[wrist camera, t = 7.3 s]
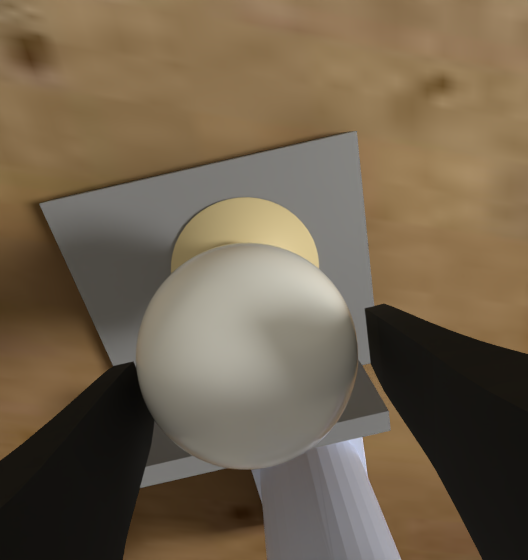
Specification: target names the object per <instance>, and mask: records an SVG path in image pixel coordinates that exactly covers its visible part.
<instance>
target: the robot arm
mask: <svg viewBox="0 0 528 560" xmlns="http://www.w3.org/2000/svg"><path fill="white" fill-rule="evenodd" d="M364 309H365V317H366V326H367V335H368V344H369V353H370V362H371V365H372V367H373V369H374V371H375V374H376V376H377V378H378V380H379V382H380V384H381V386H382V388H383V390H384V392H385V393H386V395H387V396H388V398H389V399H390V401H391V402H392V404H393V405H394V407H395V408H396V410H397V411H398V413H399V414H400V416H401V417H402V419H403V420H404V422H405V423H406V425H407V426H408V428H409V429H410V431H411V432H412V434H413V435H414V437H415V438H416V440H417V441H418V443H419V444H420V446H421V447H422V449H423V450H424V452H425V453H426V455H427V457H428V458H429V460H430V461H431V463H432V465H433V466H434V468H435V470H436V471H437V473H438V475H439V477H440V479H441V481H442V482H443V484H444V486H445V488H446V490H447V492H448V494H449V495H450V497H451V499H452V501H453V503H454V505H455V507H456V509H457V510H458V512H459V514H460V516H461V518H462V520H463V522H464V524H465V526H466V528H467V530H468V532H469V534H470V536H471V538H472V540H473V541H474V543H475V545H476V547H477V549H478V551H479V553H480V555H481V557H482V559H483V560H528V354H525V353H521V352H518V351H514V350H510V349H507V348H503V347H499V346H496V345H492V344H489V343H486V342H482V341H479V340H476V339H473V338H471V337H468V336H465V335H462V334H459V333H456V332H453V331H451V330H448V329H445V328H443V327H440V326H438V325H435V324H433V323H430V322H428V321H425V320H423V319H421V318H418V317H416V316H414V315H411V314H409V313H406V312H404V311H402V310H399V309H397V308H394V307H392V306H389V305H386V304H381V305H377V306H372V307H368V308H364ZM154 421H155V420H154V419H153V417H152V416H151V414H150V412H149V410H148V408H147V406H146V404H145V401H144V399H143V396H142V393H141V390H140V386H139V382H138V377H137V370H136V366H135V364H134V361H133V362H128V363H124V364H119V365H115V366H113V367H112V368H110V369H109V370H108V371H106V372H105V373H104V374H103V375H101V376H100V377H99V378H98V379H97V380H96V381H94V382H93V383H92V384H91V385H90V386H89V387H88V388H87V389H85V390H84V391H83V392H82V393H81V394H80V395H79V396H78V397H76V398H75V399H74V400H73V401H72V402H71V403H70V404H69V405H68V406H66V407H65V408H64V409H63V410H62V411H61V412H60V413H58V414H57V415H56V416H55V417H54V418H53V419H51V420H50V421H49V422H48V423H47V424H45V425H44V426H43V427H42V428H41V429H39V430H38V431H37V432H36V433H35V434H34V435H32V436H31V437H30V438H29V439H28V440H26V441H25V442H24V443H23V444H21V445H20V446H19V447H18V448H16V449H15V450H14V451H12V452H11V453H10V454H9V455H7V456H6V457H5V458H3V459H2V460H1V461H0V560H123V554H124V549H125V543H126V539H127V534H128V530H129V526H130V522H131V518H132V514H133V511H134V507H135V504H136V500H137V496H138V493H139V489H140V485H141V482H142V478H143V475H144V471H145V467H146V463H147V460H148V456H149V452H150V448H151V444H152V437H153V430H154ZM252 474H253V477H254V480H255V483H256V486H257V489H258V493H259V496H260V499H261V502H262V505H263V517H264V529H265V541H266V553H267V560H401V558H400V555H399V553H398V550H397V548H396V546H395V543H394V541H393V538H392V536H391V533H390V531H389V528H388V526H387V523H386V521H385V518H384V516H383V514H382V511H381V509H380V506H379V504H378V501H377V499H376V496H375V494H374V491H373V489H372V486H371V484H370V481H369V479H368V475H367V468H366V460H365V453H364V446H363V438H362V437H360V438H356V439H351V440H347V441H343V442H338V443H334V444H330V445H325V446H321V447H316V448H312V449H310V450H308V451H307V452H305V453H303V454H302V455H300V456H298V457H296V458H294V459H292V460H290V461H288V462H285V463H282V464H279V465H276V466H272V467H268V468H262V469H253V470H252Z"/></svg>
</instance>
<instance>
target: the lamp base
mask: <svg viewBox="0 0 528 560" xmlns="http://www.w3.org/2000/svg"><path fill="white" fill-rule="evenodd" d="M40 207H41V209H42V211H43V213H44V215H45V218H46V220H47V222H48V224H49V226H50V229H51V231H52V233H53V235H54V237H55V240H56V242H57V244H58V246H59V248H60V250H61V253H62V255H63V257H64V259H65V261H66V264H67V266H68V268H69V270H70V272H71V275H72V277H73V279H74V281H75V283H76V285H77V288H78V290H79V292H80V294H81V296H82V299H83V301H84V303H85V305H86V307H87V310H88V312H89V314H90V316H91V318H92V321H93V323H94V325H95V327H96V329H97V331H98V334H99V336H100V338H101V340H102V342H103V345H104V347H105V349H106V351H107V353H108V356H109V358H110V360H111V362H112V364H113V366H115V365H119V364H124V363H128V362H133V361H134V364H135V366H136V344H137V337H138V332H139V328H140V324H141V321H142V318H143V315H144V313H145V310H146V308H147V306H148V304H149V302H150V300H151V299H152V297H153V295H154V294H155V292H156V291H157V289H158V288H159V287H160V285H161V284H162V283H163V282H164V281H165V279H166V278H167V277H168V276H169V275H170V274H171V273H172V272H173V271H175V270H176V269H177V268H178V267H179V266H181V265H182V264H183V263H185V262H186V261H188V260H189V259H191V258H192V257H194V256H196V255H198V254H200V253H202V252H204V251H207V250H209V249H212V248H215V247H218V246H222V245H227V244H233V243H244V242H252V243H263V244H269V245H274V246H277V247H281V248H284V249H287V250H289V251H292V252H294V253H296V254H298V255H300V256H302V257H303V258H305V259H307V260H308V261H310V262H311V263H312V264H314V265H315V266H316V267H318V268H319V269H320V270H321V271H322V272H323V273H324V274H325V275H326V276H327V277H328V278H329V279H330V280H331V281H332V282H333V284H334V285H335V286H336V288H337V289H338V290H339V292H340V293H341V295H342V297H343V298H344V300H345V302H346V304H347V306H348V308H349V311H350V313H351V316H352V319H353V322H354V326H355V330H356V335H357V342H358V368H357V375H356V380H355V384H354V388H353V391H352V394H351V397H350V399H349V402H348V404H347V406H346V408H345V410H344V412H343V414H342V415H341V417H340V418H339V420H338V421H337V423H336V424H335V426H334V427H333V428H332V429H331V430H330V432H329V433H328V434H327V435H326V436H325V437H324V438H323V439H322V440H321V441H320V442H318V443H317V444H316V445H315V446H314V447H312V448H316V447H321V446H325V445H330V444H334V443H338V442H343V441H347V440H351V439H356V438H360V437H364V436H369V435H373V434H377V433H382V432H386V431H390V420H389V411H388V409H387V407H386V406H385V404H384V402H383V400H382V399H381V397H380V395H379V394H378V392H377V390H376V388H375V387H374V385H373V383H372V382H371V380H370V378H369V376H368V375H367V373H366V371H365V370H364V368H363V366H362V365H365V364H369V363H371V362H370V353H369V344H368V335H367V326H366V317H365V309H364V308H368V307H372V306H374V300H373V290H372V280H371V270H370V260H369V249H368V239H367V229H366V219H365V209H364V199H363V189H362V179H361V169H360V159H359V149H358V139H357V131H352V132H345V133H341V134H337V135H332V136H328V137H324V138H319V139H315V140H310V141H306V142H302V143H297V144H293V145H289V146H284V147H280V148H275V149H271V150H267V151H262V152H258V153H254V154H249V155H245V156H241V157H236V158H232V159H227V160H223V161H219V162H214V163H210V164H206V165H201V166H197V167H192V168H188V169H184V170H179V171H175V172H171V173H166V174H162V175H157V176H153V177H149V178H144V179H140V180H136V181H131V182H127V183H122V184H118V185H114V186H109V187H105V188H101V189H96V190H92V191H87V192H83V193H79V194H74V195H70V196H66V197H61V198H57V199H53V200H49V201H46V202H43V203H40ZM312 448H311V449H312ZM221 469H225V468H224V467H220V466H216V465H213V464H210V463H207V462H204V461H202V460H200V459H198V458H196V457H194V456H192V455H190V454H189V453H187V452H186V451H184V450H183V449H181V448H180V447H179V446H177V445H176V444H175V443H174V442H173V441H172V440H171V439H170V438H169V437H168V436H167V435H166V434H165V433H164V432H163V431H162V430H161V429H160V427H159V426H158V425H157V423H156V422H155V421H154V430H153V437H152V444H151V448H150V452H149V456H148V460H147V463H146V467H145V471H144V475H143V478H142V482H141V485H140V488H143V487H147V486H151V485H156V484H160V483H164V482H169V481H173V480H177V479H182V478H186V477H190V476H195V475H199V474H203V473H208V472H212V471H216V470H221Z"/></svg>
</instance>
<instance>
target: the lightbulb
mask: <svg viewBox="0 0 528 560" xmlns="http://www.w3.org/2000/svg"><path fill="white" fill-rule="evenodd" d="M357 368H358V342H357V335H356V330H355V326H354V322H353V319H352V316H351V313H350V311H349V308H348V306H347V304H346V302H345V300H344V298H343V297H342V295H341V293H340V292H339V290H338V289H337V288H336V286H335V285H334V284H333V282H332V281H331V280H330V279H329V278H328V277H327V276H326V275H325V274H324V273H323V272H322V271H321V270H320V269H319V268H318V267H316V266H315V265H314V264H312V263H311V262H310V261H308V260H307V259H305V258H303V257H302V256H300V255H298V254H296V253H294V252H292V251H289V250H287V249H284V248H281V247H277V246H274V245H269V244H263V243H252V242H244V243H233V244H227V245H222V246H218V247H215V248H212V249H209V250H207V251H204V252H202V253H200V254H198V255H196V256H194V257H192V258H191V259H189V260H188V261H186V262H185V263H183V264H182V265H181V266H179V267H178V268H177V269H176V270H175V271H173V272H172V273H171V274H170V275H169V276H168V277H167V278H166V279H165V281H164V282H163V283H162V284H161V285H160V287H159V288H158V289H157V291H156V292H155V294H154V295H153V297H152V299H151V300H150V302H149V304H148V306H147V308H146V310H145V313H144V315H143V318H142V321H141V324H140V328H139V332H138V337H137V344H136V370H137V377H138V382H139V386H140V390H141V393H142V396H143V399H144V401H145V404H146V406H147V408H148V410H149V412H150V414H151V416H152V417H153V419H154V420H155V422H156V423H157V425H158V426H159V427H160V429H161V430H162V431H163V432H164V433H165V434H166V435H167V436H168V437H169V438H170V439H171V440H172V441H173V442H174V443H175V444H176V445H177V446H179V447H180V448H181V449H183V450H184V451H186V452H187V453H189V454H190V455H192V456H194V457H196V458H198V459H200V460H202V461H204V462H207V463H210V464H213V465H216V466H220V467H224V468H230V469H239V470H253V469H262V468H268V467H272V466H276V465H279V464H282V463H285V462H288V461H290V460H292V459H294V458H296V457H298V456H300V455H302V454H303V453H305V452H307V451H308V450H310V449H311V448H312V447H314V446H315V445H316V444H317V443H318V442H320V441H321V440H322V439H323V438H324V437H325V436H326V435H327V434H328V433H329V432H330V430H331V429H332V428H333V427H334V426H335V424H336V423H337V421H338V420H339V418H340V417H341V415H342V414H343V412H344V410H345V408H346V406H347V404H348V402H349V399H350V397H351V394H352V391H353V388H354V384H355V380H356V375H357Z"/></svg>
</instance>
